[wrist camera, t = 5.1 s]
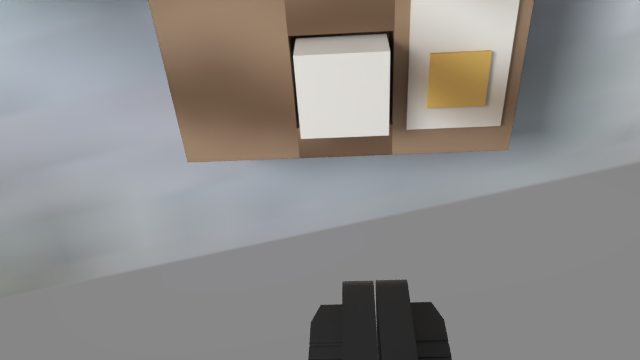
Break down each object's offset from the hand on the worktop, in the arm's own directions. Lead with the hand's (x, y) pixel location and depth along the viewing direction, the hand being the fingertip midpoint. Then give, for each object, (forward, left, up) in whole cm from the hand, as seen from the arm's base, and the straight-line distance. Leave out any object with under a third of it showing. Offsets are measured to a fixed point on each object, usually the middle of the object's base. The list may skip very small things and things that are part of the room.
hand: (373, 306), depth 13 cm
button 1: (+1, -1, -14) cm, 14 cm away
